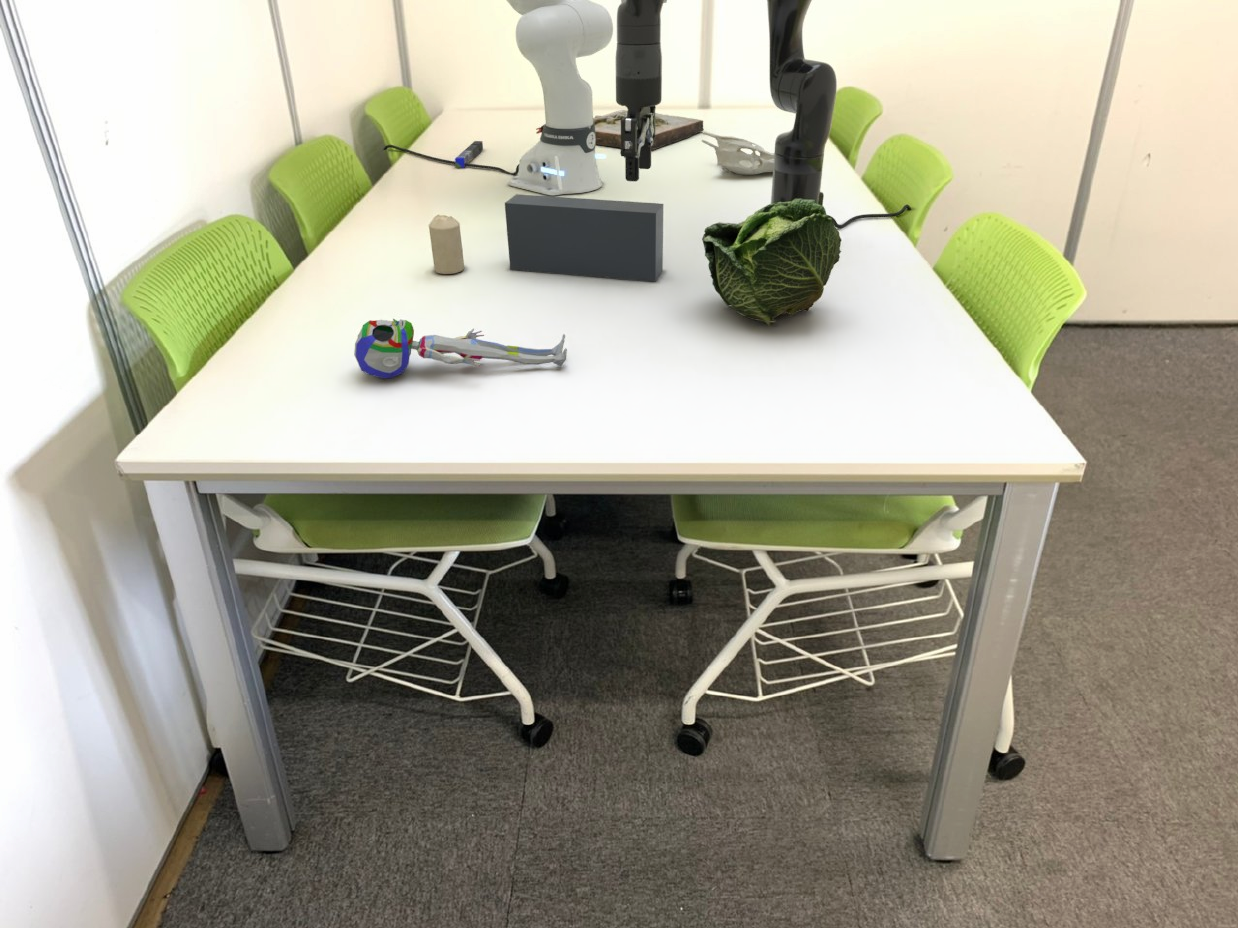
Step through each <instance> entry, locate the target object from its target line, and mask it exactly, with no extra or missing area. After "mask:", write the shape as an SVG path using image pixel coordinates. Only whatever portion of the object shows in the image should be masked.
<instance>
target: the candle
mask: <svg viewBox="0 0 1238 928" xmlns="http://www.w3.org/2000/svg"><path fill="white" fill-rule="evenodd" d="M428 230H429V231H428V232H429V237H430V247H431V252H432V262H433V269H434V271H435V272H436V273H438V274H442V275H451V274H457V273H460V272H462V271H463V270H464V269H465V260H464V253H463V252H464V251H463V243H462V233H461V224H460V222H459V221H458V220H457V219H456V218H454V217H453V216H451V215H450V216H449V215H444V214H436V215H435V216H434V217H433V218H432V220H431V221H430V222H429V224H428Z"/></svg>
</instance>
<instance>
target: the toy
mask: <svg viewBox="0 0 1238 928" xmlns="http://www.w3.org/2000/svg"><path fill="white" fill-rule="evenodd" d="M474 331H475V328H472V329H471V330H469V331H468V332H467V333H466V334H465V335H463V336H458V337H449V336H448V337H447V336H442V335H439V334H428V335H423V336H421V338H420V339H419V341H417V340H414V336H415V329H414V326H413V324H412V322H410V321H408V320H407V319H399V320H397V319H395V318H392V320H387V319H379V320H368V321H367V322H365V323H364V324H362V326H361V329H360V331H359V333H358V334H357V338H356V340H355V342H354V354H353V355H354V357H355V359H356V362H357V364H358V366H359V369H360V370H361V372H364V373H366V374H367V375H370V376H373V377H377V378H382V379H383V378H384V379H392V378H394V377H396V376H398V375H400V374H401V375H402V374H403V372H404V371H405V370H406V368H407V367H408V366H409V364H410V357H411V355H412V350H415V351H417V353H418V356H419V357H421V358H422V359H430V360H434V361H438V362H442V363H444V364H449V365H458V364H459V365H461V364H465V365H471V366H477V367H479V368H480V367H481V366H482V365H483V363H482V362H478V361H480V360H482V359H487V360H488V359H489V360H503V361H509V362H514V363H517V364H520V365H528V366H529V365H542V364H550V363H553V364H555V365H557V366H559V367H562V366H563V364H564V362H565V361H566V360H567V357H568V355H567V353H568V348H566V347H565V348H564V345H565V340H566V334H565V333H563V334H562V338H561V340H560V341H559V343H558V344H556V345H555V346H554V347H552V348H533V347H532V348H531V347H523V346H518V345H517V346H516V345H504V344H501V343H498V342H494V341H488V340H482V339H478V338H479V337H480V338H481V337H485V334H480V333H482V332H483V331H482V330H479V331H476V332H474ZM563 349H564V350H563ZM453 353H455V354H457V355H459V357H458V356H455V355H448V354H453ZM445 354H447V355H445Z"/></svg>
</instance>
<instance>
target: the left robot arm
mask: <svg viewBox="0 0 1238 928" xmlns="http://www.w3.org/2000/svg"><path fill="white" fill-rule="evenodd" d="M624 1H626V0H620V4H621V3H623V2H624ZM506 2H507V3H508V4H509V5H510V6H511V8H512V9H513V10H514V11H515V12H516V13H517V14H518V15H520V18H519V19H518V21H517V23H516V26H515V41H516V46H517V48H518V50H519V52H520V54H521V55H522V57H524V59H525V60H527V61H528V62H529V63H530V65H532V67H533V68H534V70H535V72H536V74H537V77H538V79H539V81H540V86H541V90H542V95H543V106H544V118H545V119H544V120H545V121H544V122H545V123H544V124H543V125H541V126H540V127H537V128H535V130H536V132H535V133H536V134H540V138H539V141H538V142H536V143H535V144H534V145H533V146H532V147H530V149H529V150H527V151H526V152H525V153H524V154H523V155H522V156H521V157H520V158H519V163H518V164H517V165H516V166H515V167H516V168H515V171H514V172H510V171H507V170H506V169H503V168H502V167H498V166H492V165H485V164H484V165H483V164H475V163H465V167H470V168H476V169H477V168H479V169H487V170H494V171H499V172H501V173H503V174H506V175H511V176H513V177H512V178H511V179H510V180H509V186H511V187H514V188H517V189H518V188H519V189H523V190H527V191H531V192H535V193H539V194H543V195H545V196H559V195H568V194H569V195H570V194H582V193H588V192H592V191H595V190H598V189H600V188H601V187H602V186H603V183H602V180H601V178H600V177H601V176H600V173H599V168H598V163H597V159H600V160H601V159H602V160H604V159H606V154H600V153H596V145H597V144H596V133H595V124H594V123H593V118H594V102H593V101H594V100H593V99H594V98H593V89H592V87H591V85H590V83H589V82H588V81H586V80H585V79H583V78H582V77H581V75H580V72H579V70H578V65H577V58H583V57H590V56H593V55H594V54H596V53H598V52H600V51H601V50H603V49H605V48H606V47H608V46H609V44H610V43H611V41H612V38H613V35H614V23H613V19H612V16H611V14H610V12H609V10H608V9H607V8H605V7H604V6H603V5H602V4H599V3H596V2H593V1H592V0H506ZM667 2H668V0H664V2H663V4H666V3H667ZM388 149H395V150H398V151H401V152H405V153H409V154H411V155H414V156H417V157H421V158H424V159H428V160H432V161H436V162H440V163H445V164H450V165H455V160H449V159H443V158H438V157H436V156H430V155H426V154H424V153H420V152H416V151H413V150H410V149H407V148H404V147H403V148H402V147H401V146H396V145H393V144H387V145H385V146H384V147H383V149H382V150H383V151H387V150H388Z"/></svg>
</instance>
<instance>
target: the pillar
mask: <svg viewBox="0 0 1238 928" xmlns="http://www.w3.org/2000/svg"><path fill="white" fill-rule="evenodd" d="M483 150H484V145H483V141H482V140H474V141H473V142H471V144H470V145H468V146H467V147H466V148H465V149H463V151H462V152H461V153H460V154H458V155H457V156H456V157H455V158H454V161H455V164H454V165H455V168H457V169H458V168H465V167H466V166H465V163H468V164H470V163H471V162H472V160H474V159H475V158H476V157H477V156H478V155H479V154H480V153H481V152H482V151H483Z"/></svg>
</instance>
